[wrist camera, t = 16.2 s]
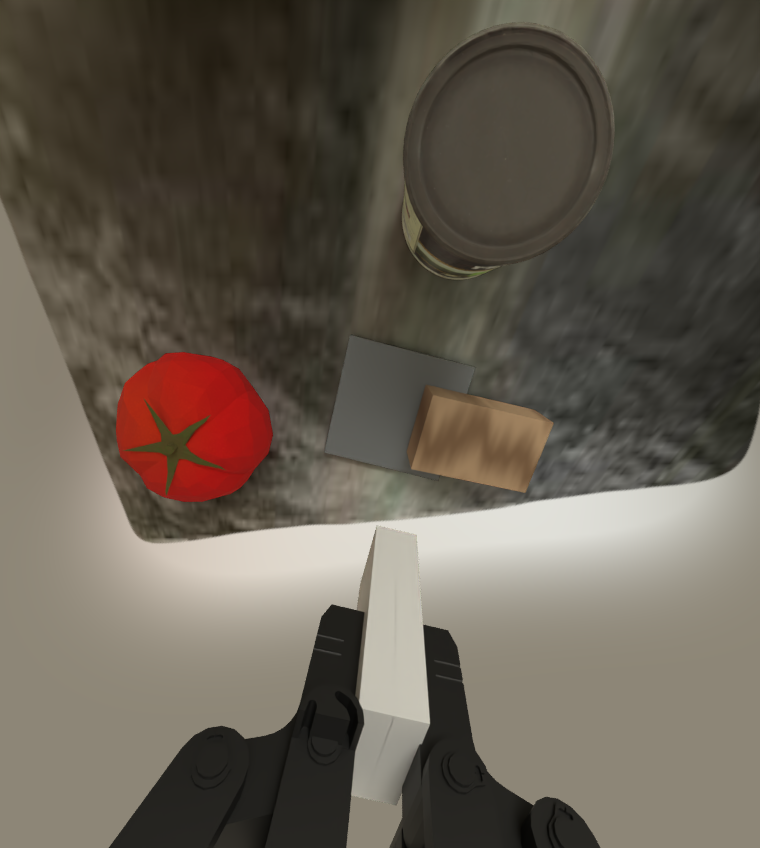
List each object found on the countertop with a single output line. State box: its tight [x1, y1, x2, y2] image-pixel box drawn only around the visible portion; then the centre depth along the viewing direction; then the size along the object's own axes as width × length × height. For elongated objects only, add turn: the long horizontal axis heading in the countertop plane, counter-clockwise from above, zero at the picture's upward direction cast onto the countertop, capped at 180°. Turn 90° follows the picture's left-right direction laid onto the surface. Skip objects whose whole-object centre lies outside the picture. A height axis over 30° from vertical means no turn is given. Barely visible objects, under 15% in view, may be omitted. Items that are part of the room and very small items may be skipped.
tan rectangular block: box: [407, 385, 554, 493], centre depth 36 cm, size 7×4×11 cm
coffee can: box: [402, 22, 615, 280], centre depth 26 cm, size 10×10×14 cm
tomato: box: [116, 352, 273, 502], centre depth 34 cm, size 13×12×11 cm
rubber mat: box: [324, 335, 475, 481], centre depth 37 cm, size 12×12×1 cm
